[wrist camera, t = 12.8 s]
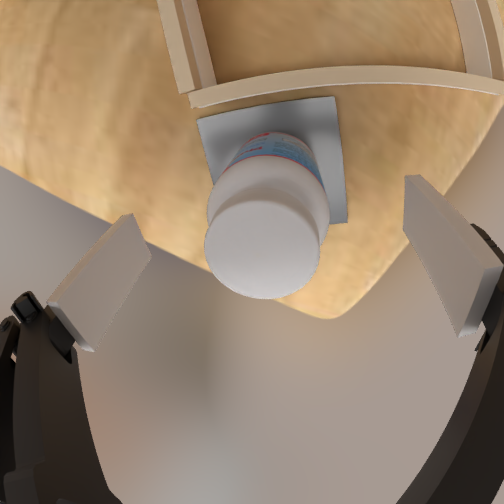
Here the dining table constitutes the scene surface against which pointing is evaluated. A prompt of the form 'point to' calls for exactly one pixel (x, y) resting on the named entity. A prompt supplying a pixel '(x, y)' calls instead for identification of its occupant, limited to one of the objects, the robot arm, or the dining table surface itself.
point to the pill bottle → (267, 218)
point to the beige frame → (209, 93)
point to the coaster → (289, 122)
